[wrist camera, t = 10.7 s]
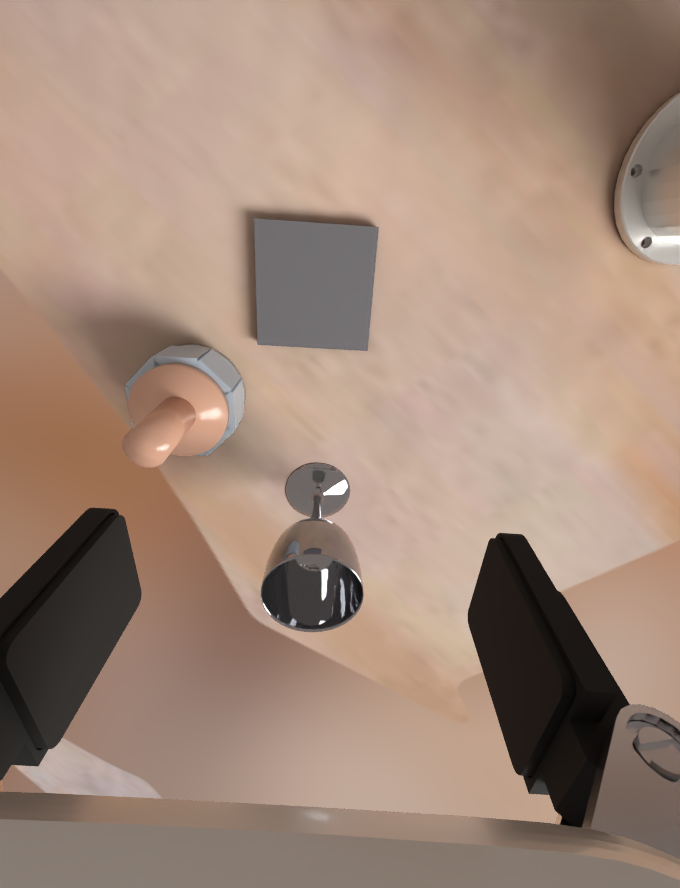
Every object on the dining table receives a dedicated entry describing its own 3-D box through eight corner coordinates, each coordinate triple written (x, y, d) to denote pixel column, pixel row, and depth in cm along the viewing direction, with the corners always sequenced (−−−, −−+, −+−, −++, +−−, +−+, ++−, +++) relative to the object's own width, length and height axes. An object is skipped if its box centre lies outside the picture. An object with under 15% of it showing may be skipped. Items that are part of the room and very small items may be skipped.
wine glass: (267, 480, 43) (239, 583, 30) (330, 447, 42) (330, 540, 28) (306, 530, 47) (296, 644, 33) (366, 501, 45) (381, 609, 31)
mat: (377, 227, 33) (378, 227, 32) (366, 348, 37) (367, 350, 37) (255, 219, 33) (253, 218, 32) (259, 342, 37) (257, 344, 36)
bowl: (243, 346, 37) (231, 360, 33) (247, 434, 41) (236, 457, 37) (144, 341, 37) (118, 354, 32) (158, 430, 41) (136, 453, 36)
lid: (226, 365, 33) (198, 395, 26) (232, 452, 36) (208, 499, 29) (127, 360, 32) (71, 389, 25) (142, 448, 36) (97, 495, 29)
